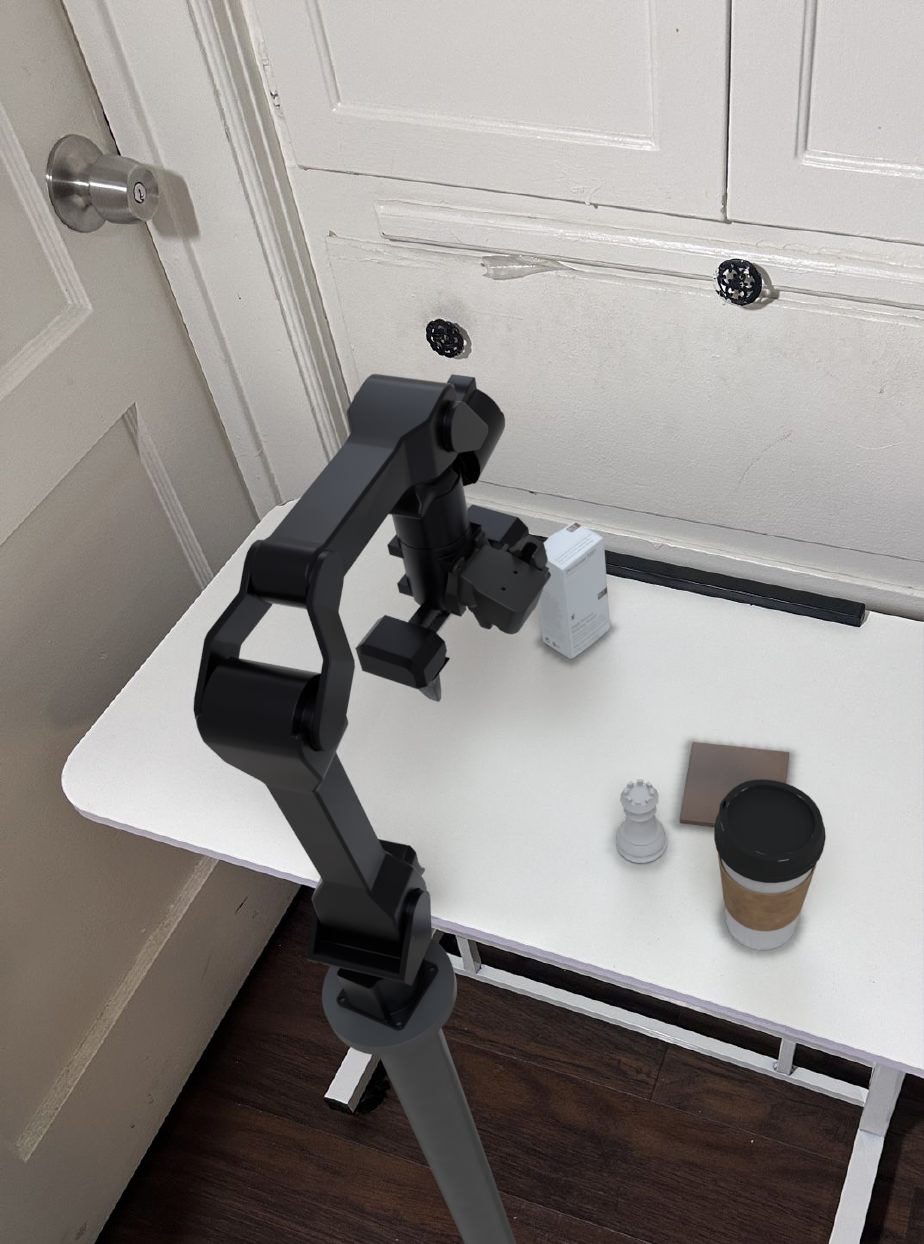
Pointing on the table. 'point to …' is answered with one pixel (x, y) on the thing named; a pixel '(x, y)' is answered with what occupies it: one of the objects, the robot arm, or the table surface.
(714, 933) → the table surface
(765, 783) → the coffee cup
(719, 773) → the walnut coaster
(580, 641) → the cosmetic box
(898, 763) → the table surface
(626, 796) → the rook chess piece
